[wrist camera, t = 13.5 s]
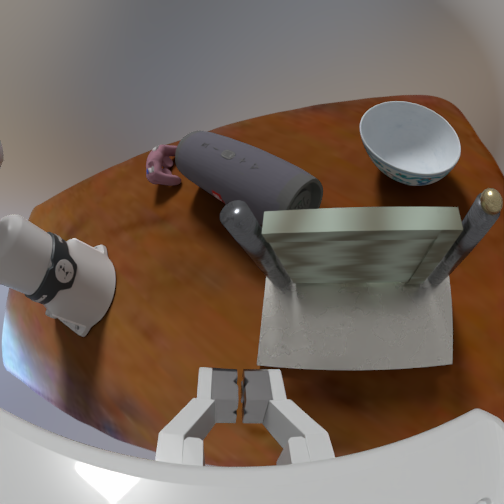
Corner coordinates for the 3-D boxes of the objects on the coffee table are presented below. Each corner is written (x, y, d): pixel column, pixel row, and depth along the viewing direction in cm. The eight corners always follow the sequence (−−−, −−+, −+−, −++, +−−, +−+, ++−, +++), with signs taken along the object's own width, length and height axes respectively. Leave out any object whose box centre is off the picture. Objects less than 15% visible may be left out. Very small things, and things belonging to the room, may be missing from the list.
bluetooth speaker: (190, 190, 48) (161, 155, 39) (224, 154, 49) (201, 116, 40) (289, 256, 37) (270, 218, 28) (328, 206, 38) (320, 159, 29)
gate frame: (259, 365, 32) (173, 357, 16) (271, 247, 38) (214, 155, 22) (448, 364, 24) (541, 350, 8) (441, 242, 30) (491, 144, 14)
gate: (293, 285, 33) (261, 233, 21) (294, 269, 34) (264, 211, 22) (422, 283, 28) (463, 229, 16) (421, 267, 28) (457, 207, 17)
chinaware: (401, 225, 33) (411, 193, 26) (342, 157, 41) (338, 121, 34) (465, 182, 32) (478, 149, 25) (406, 125, 39) (408, 92, 33)
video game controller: (174, 160, 56) (147, 147, 51) (186, 148, 53) (158, 133, 49) (170, 195, 52) (139, 182, 47) (183, 183, 49) (150, 168, 44)
